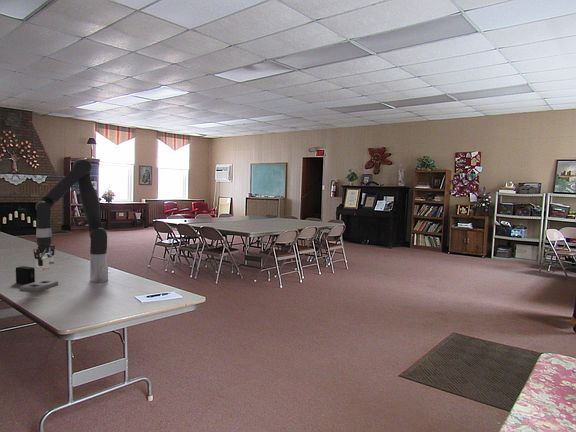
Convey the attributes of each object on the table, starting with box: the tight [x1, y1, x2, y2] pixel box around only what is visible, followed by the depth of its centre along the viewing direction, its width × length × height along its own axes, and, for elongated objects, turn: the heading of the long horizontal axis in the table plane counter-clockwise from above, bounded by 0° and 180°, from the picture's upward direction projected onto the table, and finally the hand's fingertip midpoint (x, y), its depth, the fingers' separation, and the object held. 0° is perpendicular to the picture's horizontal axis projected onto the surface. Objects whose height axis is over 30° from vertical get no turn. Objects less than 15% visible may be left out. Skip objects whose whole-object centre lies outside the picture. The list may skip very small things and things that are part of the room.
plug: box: [34, 256, 55, 272], centre depth 236 cm, size 9×6×7 cm, turn 81°
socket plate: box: [19, 279, 59, 293], centre depth 234 cm, size 11×16×2 cm
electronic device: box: [15, 265, 36, 285], centre depth 241 cm, size 4×10×10 cm, turn 71°
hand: (44, 264), depth 237 cm, fingers closed on plug, 6 cm apart
